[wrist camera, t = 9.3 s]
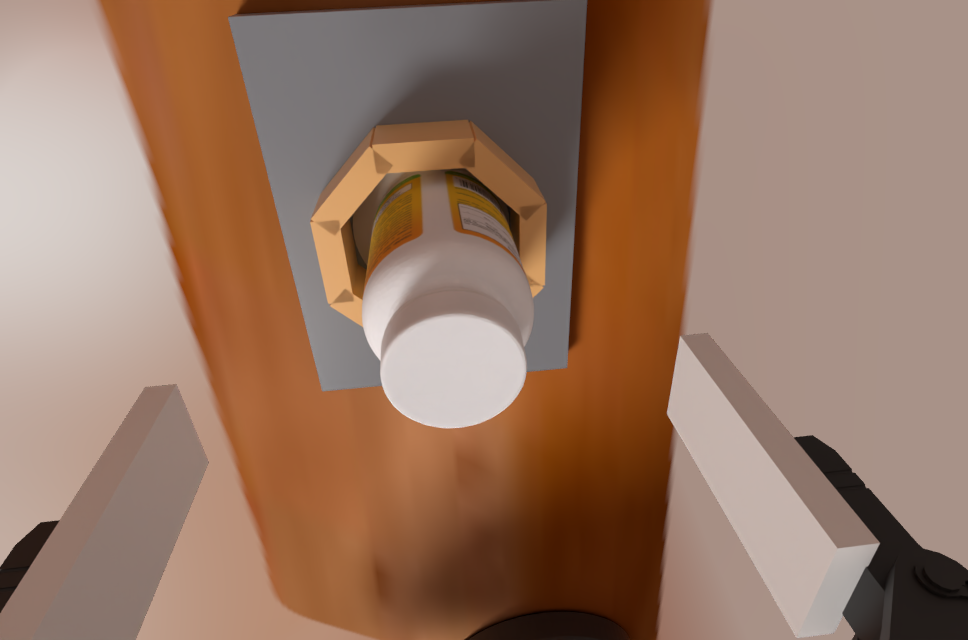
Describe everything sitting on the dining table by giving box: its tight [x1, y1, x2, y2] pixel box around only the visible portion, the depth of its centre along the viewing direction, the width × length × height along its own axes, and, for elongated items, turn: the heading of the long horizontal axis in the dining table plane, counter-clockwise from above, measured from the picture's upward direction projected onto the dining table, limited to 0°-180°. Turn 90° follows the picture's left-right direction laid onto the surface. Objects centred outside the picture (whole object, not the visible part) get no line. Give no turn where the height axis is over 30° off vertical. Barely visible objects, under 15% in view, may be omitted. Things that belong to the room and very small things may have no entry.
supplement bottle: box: [362, 169, 534, 428], centre depth 19 cm, size 5×5×10 cm
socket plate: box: [228, 0, 587, 391], centre depth 23 cm, size 16×12×4 cm
